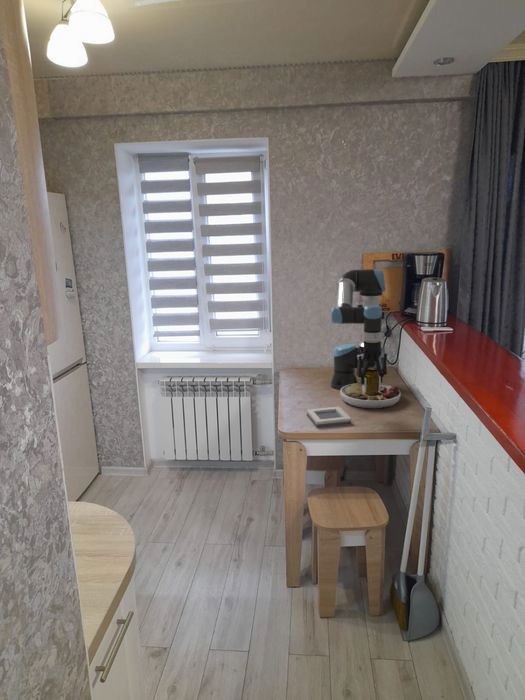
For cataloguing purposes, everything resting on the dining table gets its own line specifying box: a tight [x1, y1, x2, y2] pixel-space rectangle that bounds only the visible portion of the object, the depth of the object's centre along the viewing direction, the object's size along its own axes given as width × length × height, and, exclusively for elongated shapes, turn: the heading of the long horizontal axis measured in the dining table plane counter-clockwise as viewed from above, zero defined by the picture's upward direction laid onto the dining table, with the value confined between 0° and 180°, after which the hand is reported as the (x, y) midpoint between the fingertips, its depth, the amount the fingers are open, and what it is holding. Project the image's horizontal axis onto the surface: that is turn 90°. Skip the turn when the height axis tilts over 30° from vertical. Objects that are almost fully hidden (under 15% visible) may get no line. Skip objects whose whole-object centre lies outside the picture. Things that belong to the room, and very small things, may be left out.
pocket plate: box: [306, 406, 352, 429], centre depth 215 cm, size 16×16×3 cm
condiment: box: [362, 367, 385, 397], centre depth 211 cm, size 7×8×12 cm
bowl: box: [339, 382, 402, 409], centre depth 239 cm, size 30×30×8 cm
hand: (371, 390), depth 212 cm, fingers closed on condiment, 6 cm apart
